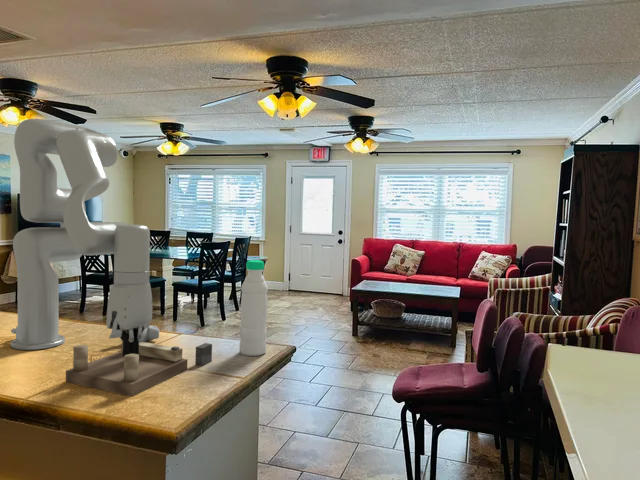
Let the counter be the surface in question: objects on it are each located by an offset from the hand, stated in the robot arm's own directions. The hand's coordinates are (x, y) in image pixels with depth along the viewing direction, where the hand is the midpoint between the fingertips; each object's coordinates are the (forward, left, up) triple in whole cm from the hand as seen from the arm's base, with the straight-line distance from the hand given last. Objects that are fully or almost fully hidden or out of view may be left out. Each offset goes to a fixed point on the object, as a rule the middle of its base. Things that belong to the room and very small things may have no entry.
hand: (130, 357), depth 109 cm
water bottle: (+18, +26, -4) cm, 32 cm away
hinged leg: (+4, +5, -1) cm, 6 cm away
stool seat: (+2, +2, -3) cm, 5 cm away
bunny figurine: (-16, +20, -4) cm, 25 cm away
